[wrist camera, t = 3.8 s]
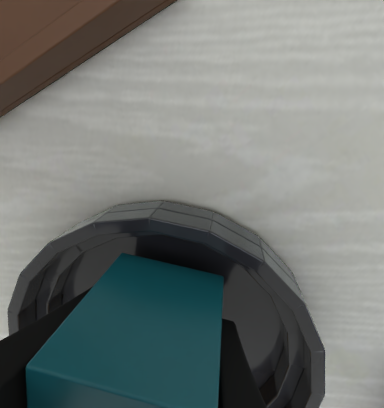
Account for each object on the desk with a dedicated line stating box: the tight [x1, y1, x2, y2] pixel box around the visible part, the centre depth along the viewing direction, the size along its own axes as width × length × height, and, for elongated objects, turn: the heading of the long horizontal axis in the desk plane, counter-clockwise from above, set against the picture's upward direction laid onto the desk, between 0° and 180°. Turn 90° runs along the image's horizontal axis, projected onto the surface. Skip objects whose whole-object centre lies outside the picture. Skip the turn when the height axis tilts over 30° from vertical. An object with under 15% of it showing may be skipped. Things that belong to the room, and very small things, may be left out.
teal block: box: [25, 253, 224, 408], centre depth 8 cm, size 4×4×5 cm
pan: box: [8, 201, 325, 408], centre depth 12 cm, size 13×13×2 cm
